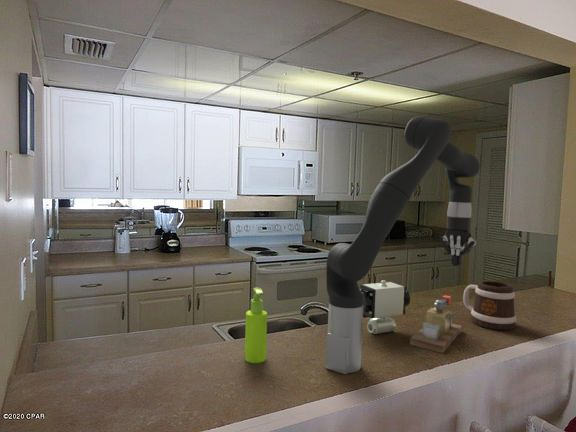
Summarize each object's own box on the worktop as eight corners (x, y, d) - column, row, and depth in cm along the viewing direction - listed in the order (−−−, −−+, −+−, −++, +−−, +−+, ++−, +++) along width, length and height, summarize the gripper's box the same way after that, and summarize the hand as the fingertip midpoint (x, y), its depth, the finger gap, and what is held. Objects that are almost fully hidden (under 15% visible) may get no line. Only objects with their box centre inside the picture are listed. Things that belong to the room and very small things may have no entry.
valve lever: (441, 312, 130) (442, 302, 130) (433, 310, 132) (433, 300, 132) (451, 303, 141) (452, 294, 141) (443, 301, 143) (443, 292, 143)
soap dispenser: (247, 365, 108) (249, 292, 107) (243, 355, 115) (244, 285, 113) (268, 363, 109) (270, 291, 108) (263, 353, 116) (265, 285, 115)
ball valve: (392, 324, 145) (395, 275, 144) (409, 332, 137) (411, 281, 136) (350, 330, 137) (352, 279, 136) (365, 339, 130) (367, 284, 128)
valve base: (442, 353, 120) (443, 346, 120) (409, 344, 126) (410, 338, 126) (461, 331, 140) (461, 325, 140) (432, 324, 146) (432, 319, 146)
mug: (524, 327, 146) (527, 286, 145) (501, 334, 138) (503, 291, 137) (474, 312, 163) (476, 275, 162) (450, 317, 155) (452, 279, 154)
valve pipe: (439, 341, 124) (440, 319, 123) (419, 337, 127) (420, 315, 127) (453, 326, 138) (454, 306, 138) (435, 322, 142) (436, 303, 141)
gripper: (483, 216, 135) (480, 268, 136) (446, 214, 145) (443, 262, 146) (473, 217, 130) (470, 270, 131) (435, 214, 140) (432, 264, 141)
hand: (456, 266), depth 138 cm, fingers closed
